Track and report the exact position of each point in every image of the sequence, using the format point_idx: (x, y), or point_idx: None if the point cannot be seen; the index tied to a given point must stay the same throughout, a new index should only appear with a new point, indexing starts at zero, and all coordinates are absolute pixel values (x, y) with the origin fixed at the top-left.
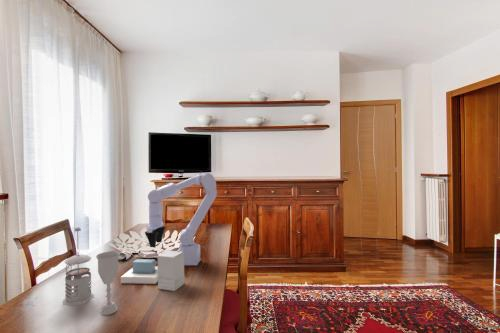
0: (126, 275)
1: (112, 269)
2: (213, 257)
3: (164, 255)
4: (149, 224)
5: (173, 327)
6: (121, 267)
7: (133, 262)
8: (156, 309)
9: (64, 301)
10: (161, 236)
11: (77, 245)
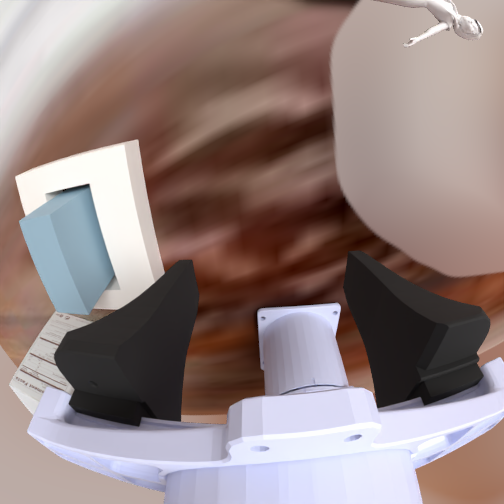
0: (28, 191)
1: None
2: (351, 380)
3: (23, 401)
4: (193, 495)
5: (9, 356)
6: (194, 22)
7: (21, 225)
8: (12, 328)
9: None
10: (361, 332)
11: None
